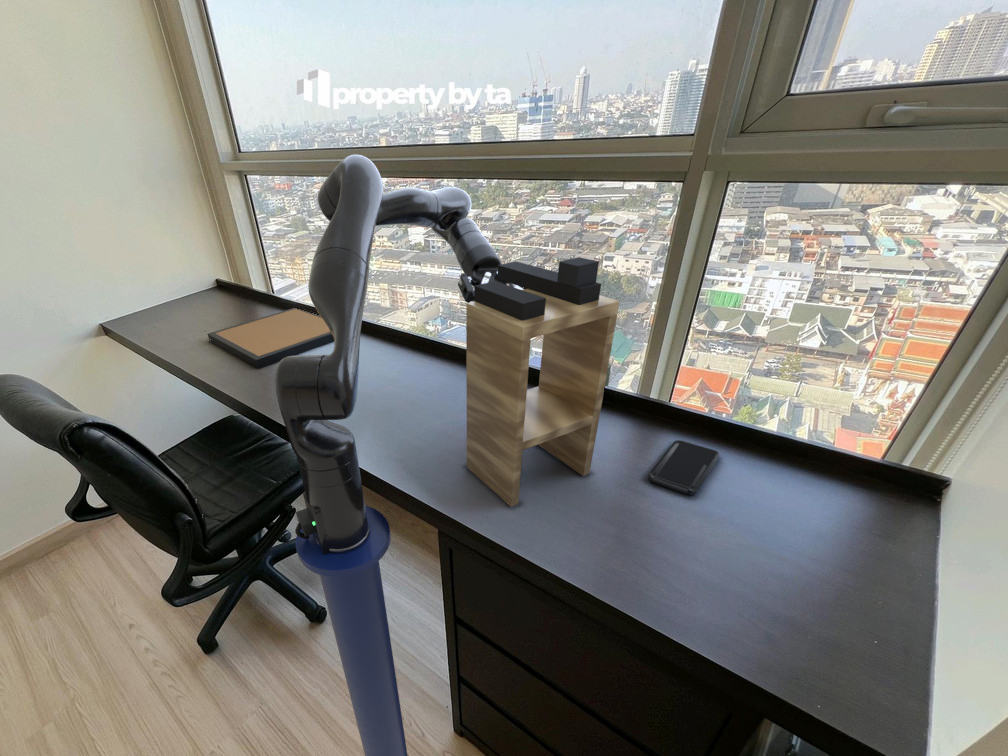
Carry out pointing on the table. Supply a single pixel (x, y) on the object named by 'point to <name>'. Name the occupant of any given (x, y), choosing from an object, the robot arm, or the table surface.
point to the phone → (684, 467)
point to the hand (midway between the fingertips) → (508, 311)
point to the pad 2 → (556, 279)
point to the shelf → (543, 409)
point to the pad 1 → (510, 300)
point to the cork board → (274, 337)
